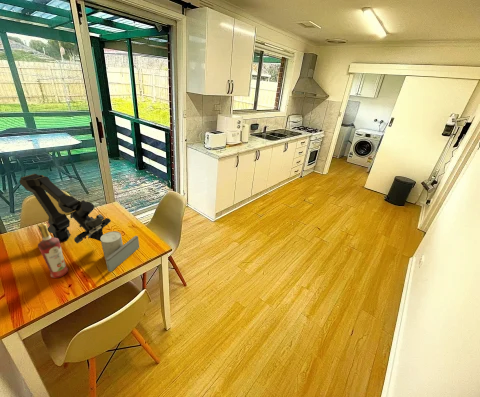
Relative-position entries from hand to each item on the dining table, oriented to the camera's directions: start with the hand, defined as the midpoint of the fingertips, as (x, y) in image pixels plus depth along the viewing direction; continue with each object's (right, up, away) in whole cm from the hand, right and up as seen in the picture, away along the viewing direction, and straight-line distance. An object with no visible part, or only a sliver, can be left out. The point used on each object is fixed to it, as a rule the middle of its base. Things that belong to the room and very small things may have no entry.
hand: (104, 241), depth 120 cm
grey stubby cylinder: (+4, -8, +2) cm, 9 cm away
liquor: (-14, -13, -12) cm, 23 cm away
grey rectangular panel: (+10, -9, +1) cm, 14 cm away
